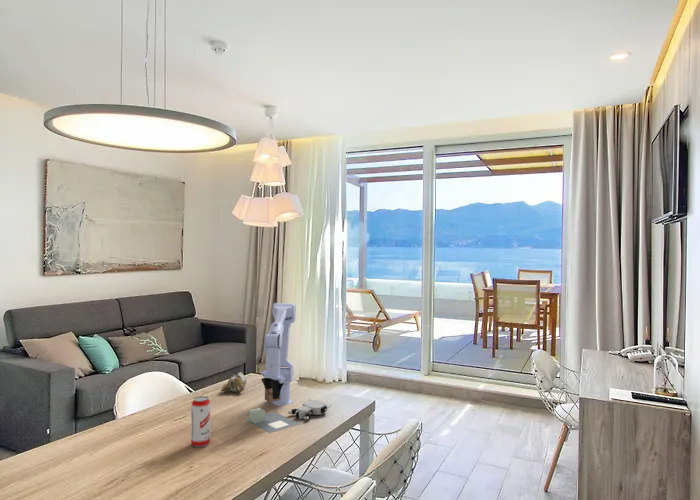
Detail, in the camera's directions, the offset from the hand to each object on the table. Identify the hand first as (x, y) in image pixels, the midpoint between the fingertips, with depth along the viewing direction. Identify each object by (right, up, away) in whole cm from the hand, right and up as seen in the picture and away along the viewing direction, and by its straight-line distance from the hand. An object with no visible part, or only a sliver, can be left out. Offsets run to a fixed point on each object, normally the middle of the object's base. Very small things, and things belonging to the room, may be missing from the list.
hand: (272, 397), depth 189 cm
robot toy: (+15, -9, +3) cm, 17 cm away
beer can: (-21, -9, -26) cm, 34 cm away
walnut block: (0, -1, 0) cm, 1 cm away
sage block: (-5, -8, -4) cm, 11 cm away
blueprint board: (+1, -9, -5) cm, 10 cm away
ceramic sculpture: (-24, -9, +36) cm, 44 cm away
